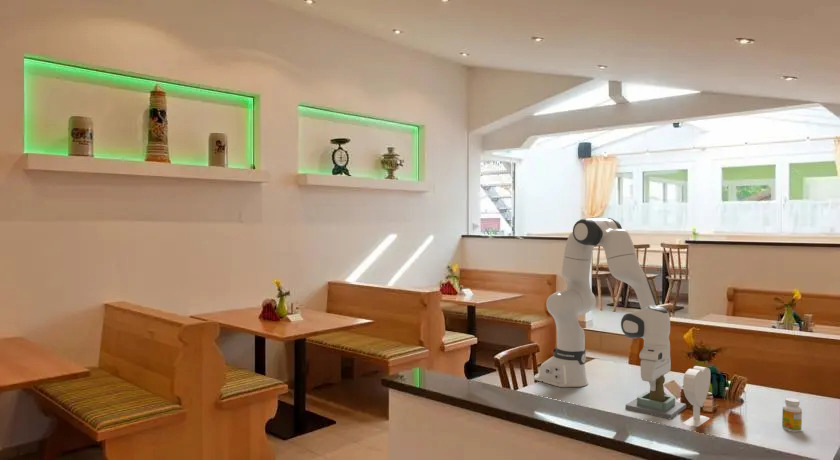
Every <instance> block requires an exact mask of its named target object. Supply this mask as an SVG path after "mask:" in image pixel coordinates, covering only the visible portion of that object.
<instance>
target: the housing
mask: <svg viewBox="0 0 840 460" xmlns="http://www.w3.org/2000/svg"><path fill="white" fill-rule="evenodd" d="M649 394H650V391H645V392H644V393H642V394H641V395H638V396H637V397H636V398H635V399H633V400H631V401H630V402H628V403H626V404H625V410H629V411H633V412H638V413H642V414H647V415H651V416H655V417H659V418H664V419H668V420H672V419H674V418H675V417H676V416H677V415H679V414H680V413H682V412H683V411H684V410H686V409H687V404H686V403H684V402H680V401H676V397H674V396H671V395H665V394H664V395H665V402H659V401H654V400H649Z"/></svg>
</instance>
